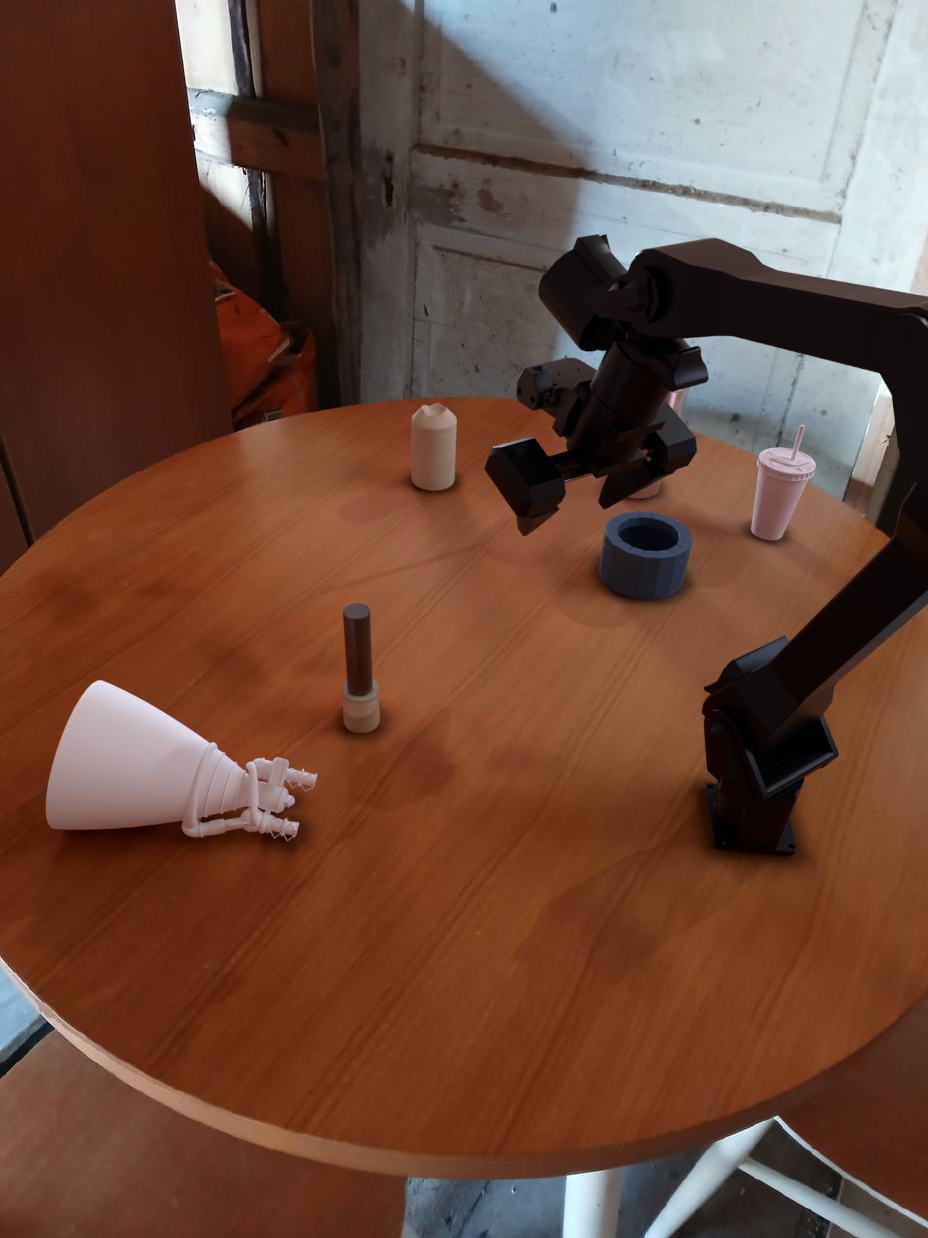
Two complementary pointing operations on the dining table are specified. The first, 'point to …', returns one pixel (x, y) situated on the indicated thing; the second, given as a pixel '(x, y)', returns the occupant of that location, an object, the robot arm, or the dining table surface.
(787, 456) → the smoothie
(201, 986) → the dining table surface
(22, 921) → the dining table surface
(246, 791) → the rocket engine
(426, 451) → the candle
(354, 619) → the pestle
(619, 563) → the jar
